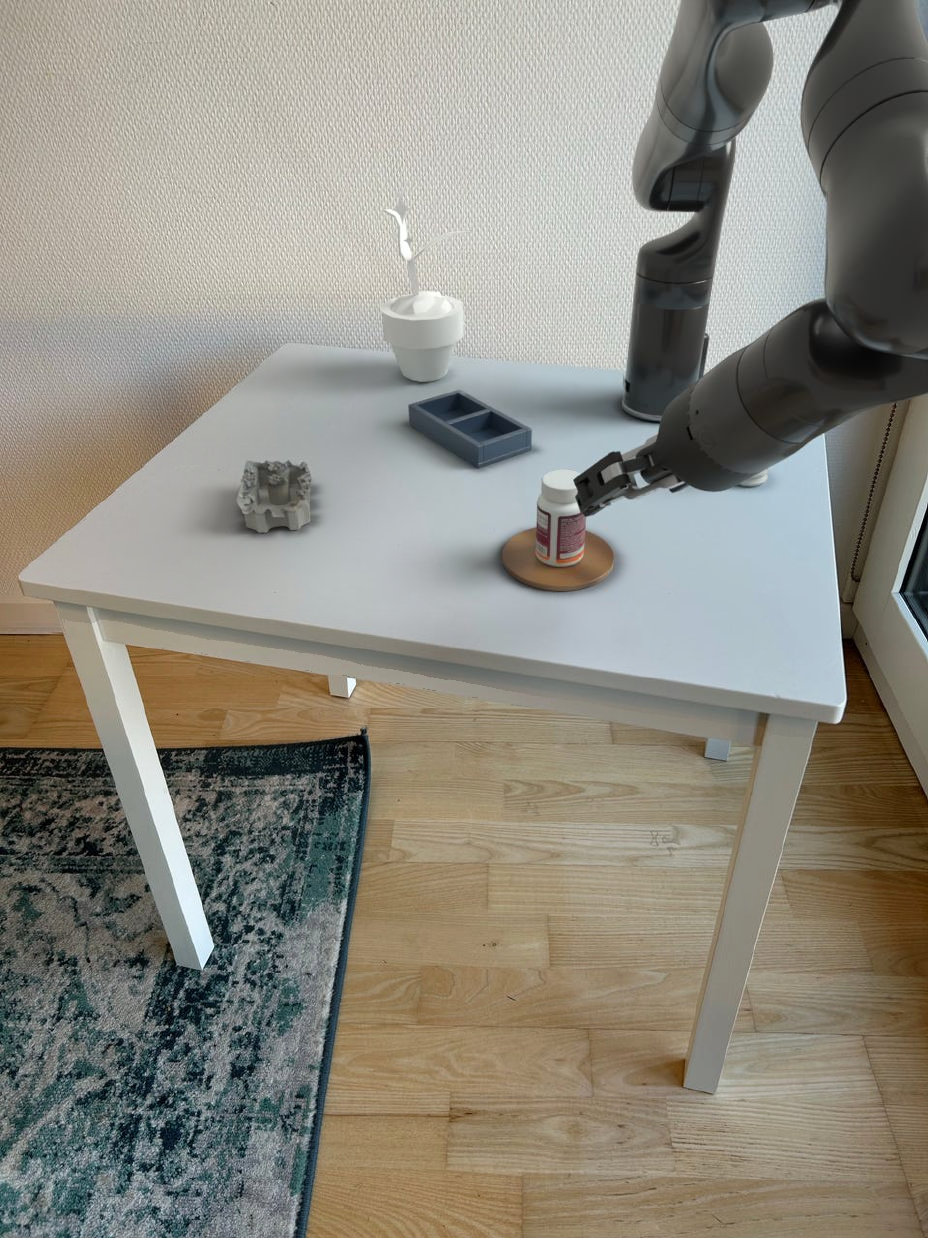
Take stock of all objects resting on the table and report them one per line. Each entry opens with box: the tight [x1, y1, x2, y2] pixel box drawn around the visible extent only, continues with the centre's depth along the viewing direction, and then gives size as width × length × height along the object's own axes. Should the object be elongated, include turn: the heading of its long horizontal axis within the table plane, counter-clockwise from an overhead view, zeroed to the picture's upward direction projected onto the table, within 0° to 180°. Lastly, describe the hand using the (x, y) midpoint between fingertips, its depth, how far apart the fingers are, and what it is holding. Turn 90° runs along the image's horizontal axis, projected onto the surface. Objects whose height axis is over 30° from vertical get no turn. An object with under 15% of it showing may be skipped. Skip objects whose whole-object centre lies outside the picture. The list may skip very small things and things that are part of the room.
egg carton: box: [236, 459, 312, 534], centre depth 93 cm, size 11×8×4 cm
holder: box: [407, 389, 533, 469], centre depth 107 cm, size 8×15×3 cm, turn 35°
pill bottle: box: [535, 469, 587, 567], centre depth 82 cm, size 5×5×8 cm
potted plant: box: [380, 193, 472, 383], centre depth 117 cm, size 13×12×25 cm
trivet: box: [501, 527, 615, 592], centre depth 85 cm, size 11×11×1 cm
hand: (627, 492), depth 72 cm, fingers open, 8 cm apart
